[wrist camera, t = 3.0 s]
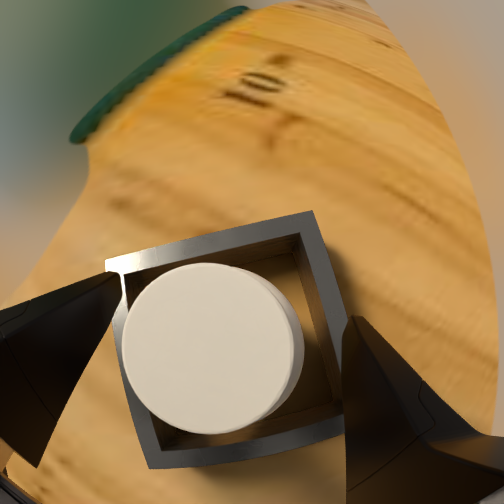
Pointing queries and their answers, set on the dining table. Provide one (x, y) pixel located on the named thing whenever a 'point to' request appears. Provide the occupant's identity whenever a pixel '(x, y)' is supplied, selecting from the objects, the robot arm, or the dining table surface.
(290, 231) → the collar
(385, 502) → the robot arm
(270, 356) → the supplement bottle
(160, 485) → the dining table surface
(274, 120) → the dining table surface
